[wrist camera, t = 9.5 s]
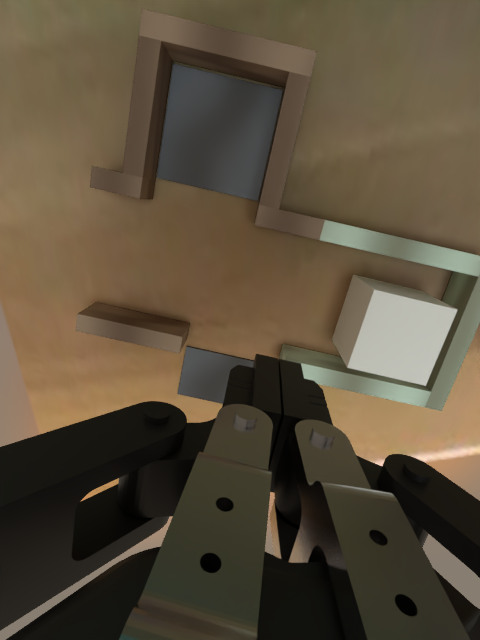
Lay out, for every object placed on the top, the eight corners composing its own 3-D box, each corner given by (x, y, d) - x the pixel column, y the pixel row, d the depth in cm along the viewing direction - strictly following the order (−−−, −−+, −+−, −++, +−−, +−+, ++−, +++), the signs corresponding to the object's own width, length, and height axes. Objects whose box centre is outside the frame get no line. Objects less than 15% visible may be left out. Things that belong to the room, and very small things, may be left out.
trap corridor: (531, 123, 24) (569, 113, 21) (402, 441, 30) (417, 466, 27) (126, 25, 23) (108, 0, 20) (87, 373, 30) (69, 391, 27)
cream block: (421, 290, 27) (457, 309, 22) (396, 355, 28) (425, 385, 24) (352, 274, 27) (374, 289, 22) (331, 339, 28) (347, 367, 23)
